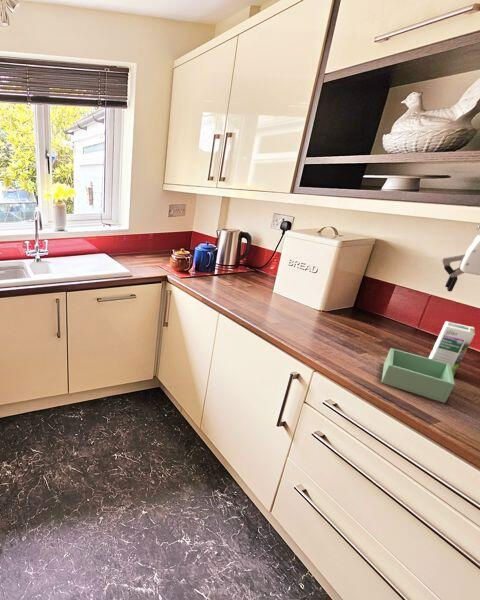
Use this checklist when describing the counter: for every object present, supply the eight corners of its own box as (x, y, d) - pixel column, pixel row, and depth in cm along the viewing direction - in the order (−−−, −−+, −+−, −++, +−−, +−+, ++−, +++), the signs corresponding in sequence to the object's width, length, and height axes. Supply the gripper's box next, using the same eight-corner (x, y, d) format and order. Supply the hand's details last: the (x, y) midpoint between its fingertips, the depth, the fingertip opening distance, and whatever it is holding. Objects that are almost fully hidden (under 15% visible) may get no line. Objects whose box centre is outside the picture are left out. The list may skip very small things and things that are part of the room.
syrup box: (425, 369, 100) (446, 326, 94) (426, 362, 104) (446, 319, 98) (452, 377, 96) (476, 333, 90) (452, 369, 100) (474, 326, 94)
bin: (441, 381, 94) (450, 364, 92) (445, 403, 86) (454, 384, 84) (383, 364, 102) (390, 347, 100) (381, 382, 94) (388, 365, 91)
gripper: (458, 228, 87) (430, 290, 94) (567, 239, 76) (527, 308, 83) (456, 225, 92) (429, 283, 99) (557, 235, 81) (520, 299, 88)
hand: (474, 294), depth 91 cm, fingers open, 9 cm apart
